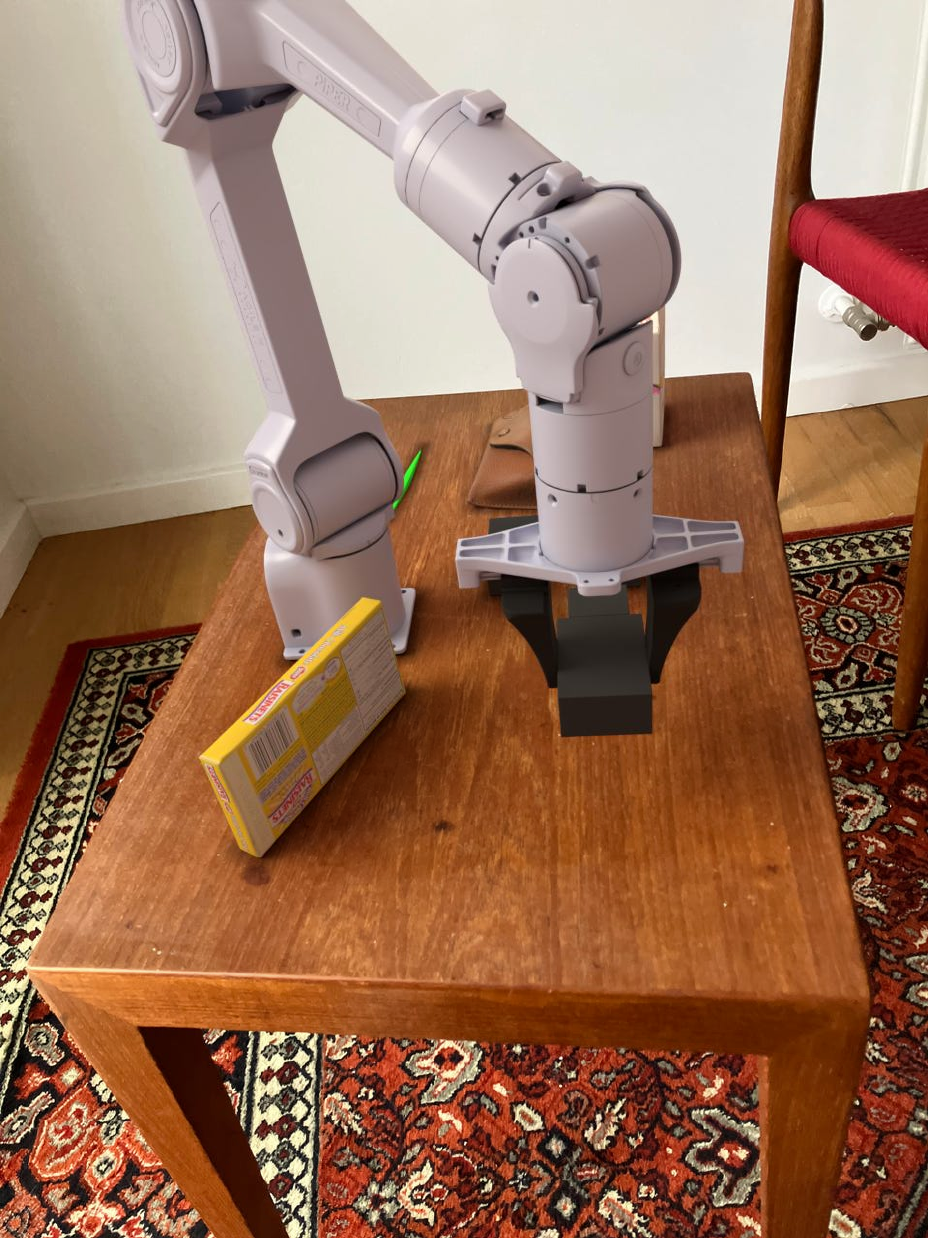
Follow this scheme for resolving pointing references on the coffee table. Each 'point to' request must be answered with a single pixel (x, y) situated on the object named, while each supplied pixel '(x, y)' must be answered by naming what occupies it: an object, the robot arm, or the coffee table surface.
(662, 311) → the ink cartridge box
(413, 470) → the green spindle
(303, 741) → the candy box
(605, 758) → the coffee table surface
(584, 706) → the pad
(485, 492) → the sunglasses case
